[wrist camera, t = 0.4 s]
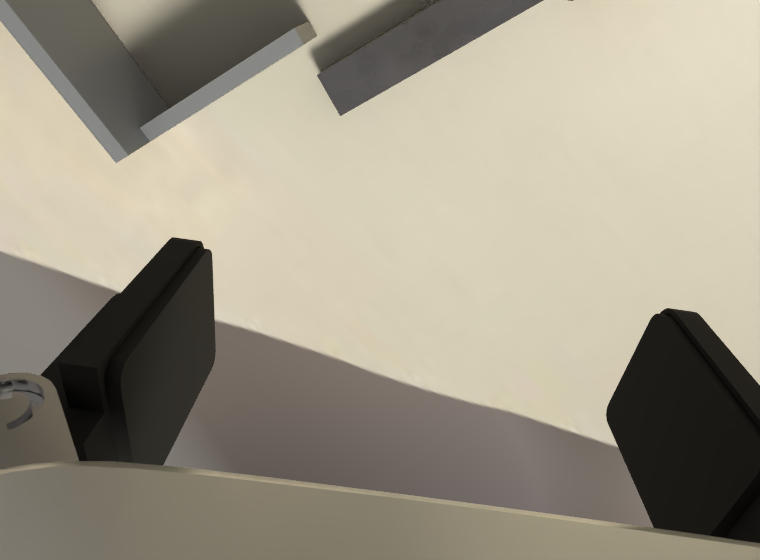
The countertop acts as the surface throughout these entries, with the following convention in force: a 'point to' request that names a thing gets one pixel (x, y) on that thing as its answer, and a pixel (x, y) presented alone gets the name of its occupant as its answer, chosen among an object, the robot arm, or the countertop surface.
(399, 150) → the countertop surface
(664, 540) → the robot arm
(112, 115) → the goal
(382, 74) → the rail
